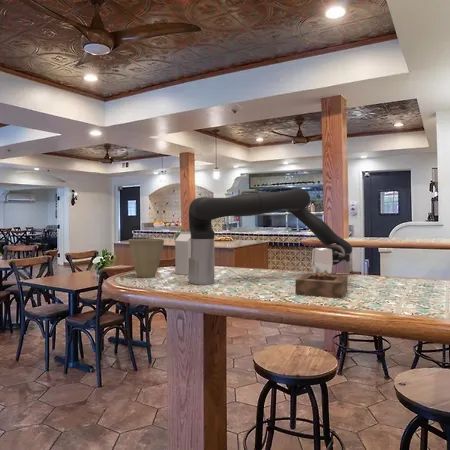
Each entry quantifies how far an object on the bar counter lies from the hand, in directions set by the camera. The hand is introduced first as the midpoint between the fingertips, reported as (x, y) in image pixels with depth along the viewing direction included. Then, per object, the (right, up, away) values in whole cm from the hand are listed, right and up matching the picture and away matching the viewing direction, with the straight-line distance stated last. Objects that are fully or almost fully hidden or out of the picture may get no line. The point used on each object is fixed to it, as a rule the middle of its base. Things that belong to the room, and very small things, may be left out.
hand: (327, 258), depth 145 cm
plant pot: (-72, -10, +23) cm, 76 cm away
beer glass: (-5, -11, -10) cm, 15 cm away
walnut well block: (-5, -11, -10) cm, 15 cm away
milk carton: (-55, -10, +31) cm, 64 cm away
